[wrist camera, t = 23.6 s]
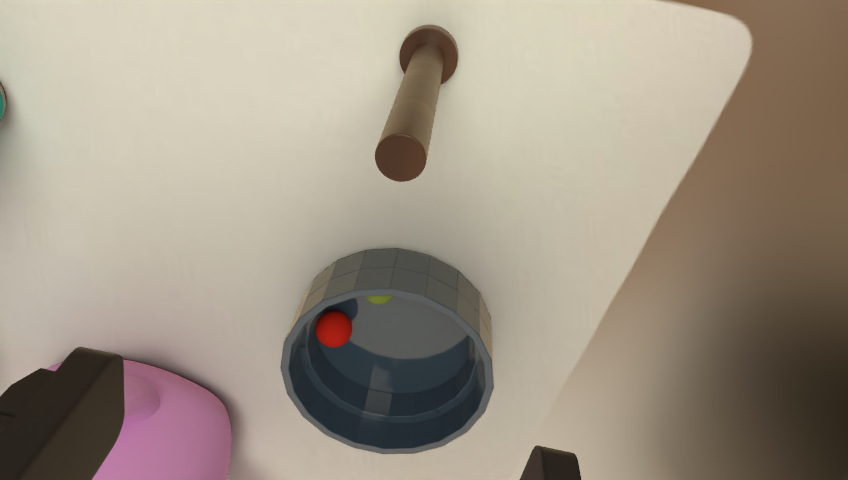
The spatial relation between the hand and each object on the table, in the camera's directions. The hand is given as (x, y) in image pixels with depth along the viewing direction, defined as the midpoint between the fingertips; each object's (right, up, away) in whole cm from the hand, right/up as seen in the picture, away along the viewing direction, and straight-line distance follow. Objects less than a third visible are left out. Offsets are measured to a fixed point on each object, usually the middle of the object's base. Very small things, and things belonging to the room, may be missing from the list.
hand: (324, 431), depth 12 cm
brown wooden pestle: (+2, +15, +28) cm, 32 cm away
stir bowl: (0, -3, +39) cm, 39 cm away
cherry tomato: (-5, -3, +37) cm, 37 cm away
